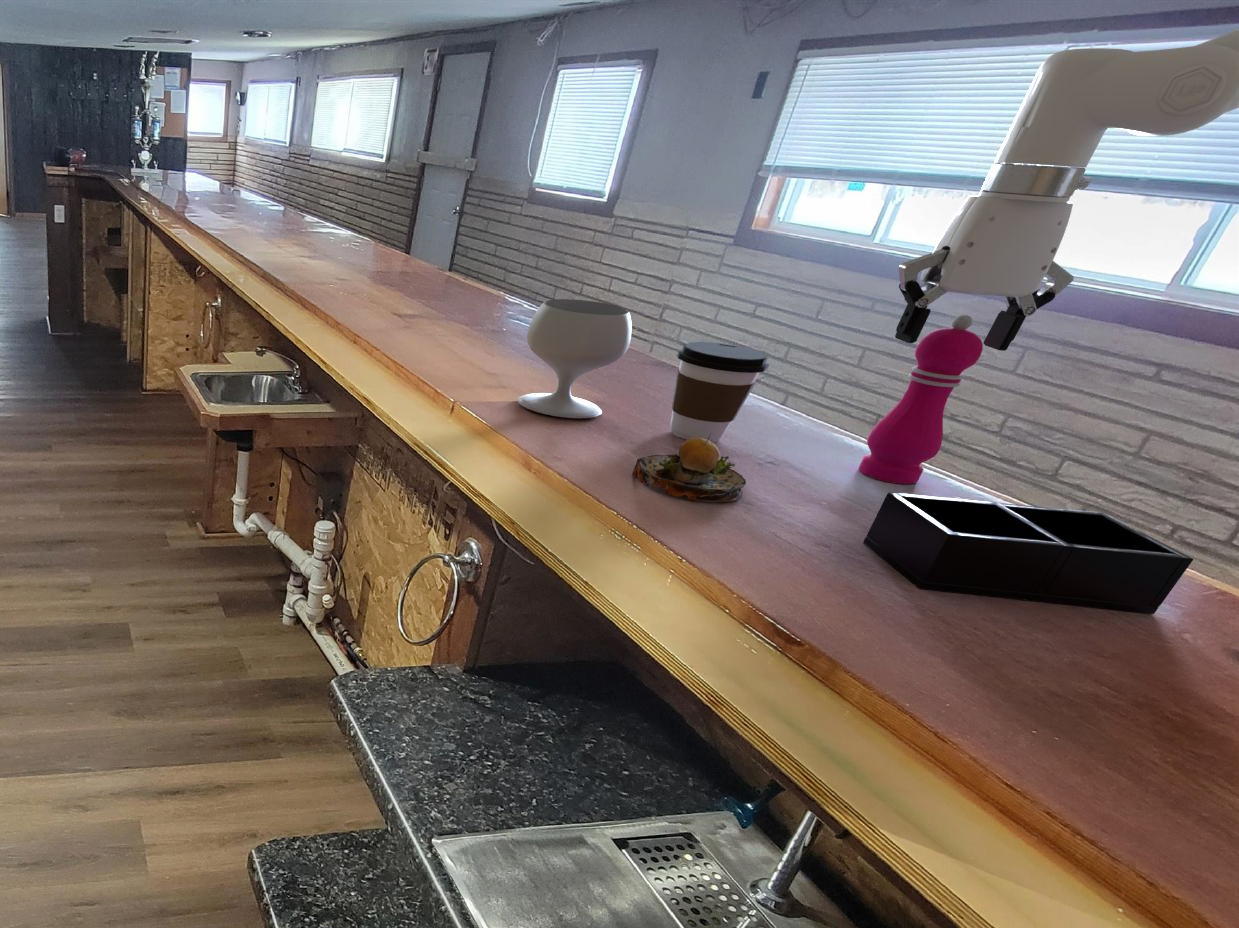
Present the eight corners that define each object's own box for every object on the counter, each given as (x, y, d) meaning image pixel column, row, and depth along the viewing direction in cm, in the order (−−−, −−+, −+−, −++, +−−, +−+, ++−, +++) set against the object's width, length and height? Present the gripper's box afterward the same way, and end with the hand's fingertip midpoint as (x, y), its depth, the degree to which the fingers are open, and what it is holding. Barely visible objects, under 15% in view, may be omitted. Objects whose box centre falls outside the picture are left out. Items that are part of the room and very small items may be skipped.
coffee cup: (658, 418, 125) (685, 337, 119) (741, 434, 119) (774, 350, 113) (646, 436, 117) (675, 350, 111) (735, 454, 111) (769, 365, 105)
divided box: (1071, 564, 86) (1104, 512, 83) (1154, 614, 77) (1194, 558, 74) (862, 542, 88) (887, 492, 85) (919, 588, 79) (949, 534, 76)
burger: (749, 484, 102) (773, 425, 98) (731, 513, 94) (756, 450, 90) (645, 459, 108) (664, 403, 105) (620, 484, 100) (639, 424, 96)
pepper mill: (898, 467, 110) (976, 310, 100) (935, 488, 103) (1022, 323, 93) (841, 463, 110) (912, 307, 100) (875, 483, 104) (954, 319, 94)
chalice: (613, 428, 120) (645, 321, 112) (511, 415, 123) (536, 310, 116) (602, 401, 131) (631, 303, 124) (510, 390, 135) (532, 294, 127)
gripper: (1092, 187, 92) (1008, 343, 101) (921, 177, 94) (853, 331, 103) (1147, 192, 86) (1052, 358, 94) (962, 181, 88) (886, 345, 97)
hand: (948, 344), depth 99 cm, fingers open, 9 cm apart
